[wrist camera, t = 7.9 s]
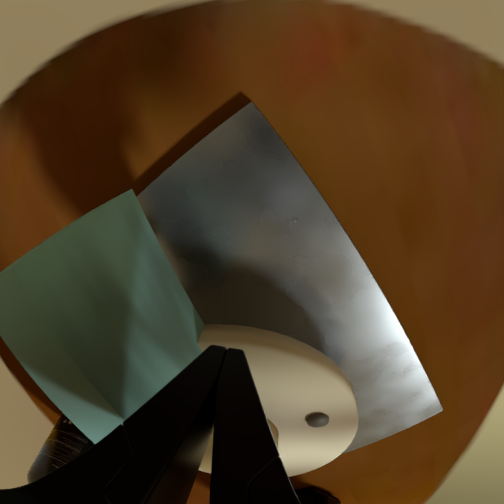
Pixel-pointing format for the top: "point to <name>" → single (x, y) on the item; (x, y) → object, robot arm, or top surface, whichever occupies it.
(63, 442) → the supplement bottle
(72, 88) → the top surface
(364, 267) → the base
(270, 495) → the robot arm
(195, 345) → the flange
